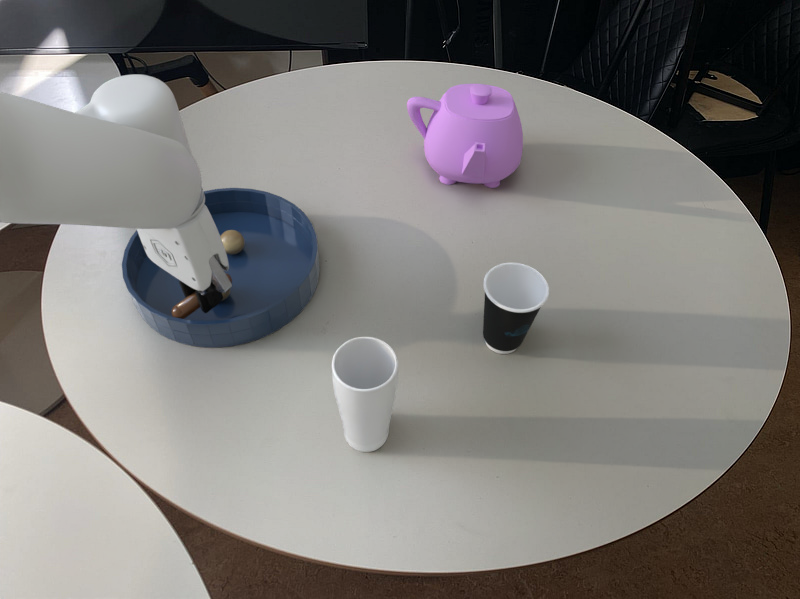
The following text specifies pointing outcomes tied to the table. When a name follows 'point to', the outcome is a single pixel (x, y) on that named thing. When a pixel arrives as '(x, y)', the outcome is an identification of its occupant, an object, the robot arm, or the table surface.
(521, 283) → the dixie cup
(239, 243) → the bead
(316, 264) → the tray
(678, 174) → the table surface
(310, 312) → the table surface
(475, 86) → the teapot
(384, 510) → the table surface
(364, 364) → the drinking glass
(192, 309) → the stick
